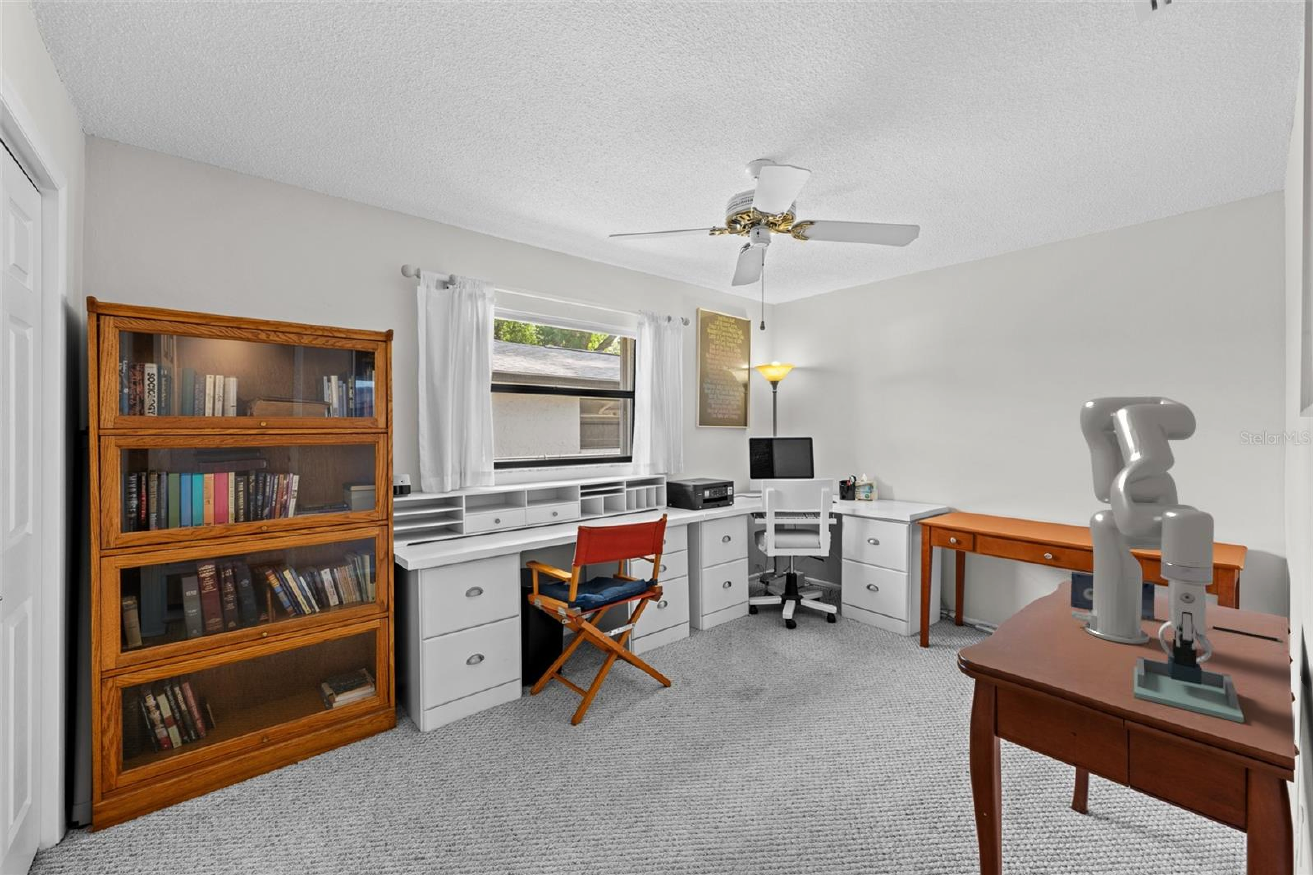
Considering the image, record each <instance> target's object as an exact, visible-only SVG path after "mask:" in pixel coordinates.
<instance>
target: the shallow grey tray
mask: <svg viewBox="0 0 1313 875" xmlns="http://www.w3.org/2000/svg"><path fill="white" fill-rule="evenodd" d="M1136 659H1137V662H1136V663H1137V664H1136V665H1135V666H1133V670H1134V671H1133V697H1134V698H1137V699H1140V700H1145V701H1149V702H1153V703H1157V704H1160V705H1166V706H1168V707H1169V706H1170V707H1173V708H1179V709H1182V710H1187V711H1191V712H1196V713H1198V714H1204V715H1206V716H1212V717H1215V718H1219V719H1224V720H1229V721H1233V722H1237V723H1242V724H1244V722H1245V720H1244V718H1245V717H1244V715H1243V712H1242V709H1241V707H1240V703H1239V700H1238V693H1237V691H1236V689H1235V685H1234V683H1233V680H1232V677H1231V675H1230V674H1227V673H1223V672H1217V671H1213V670H1208V669H1203V668H1201V669H1202V679H1201V685H1199V684H1194V683H1189V682H1184V681H1179V680H1174V679H1171V677H1170V674H1169V671H1168V669H1167V666H1168V661H1162V660H1158V659H1152V658H1149V657H1143V656H1137V658H1136Z"/></svg>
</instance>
